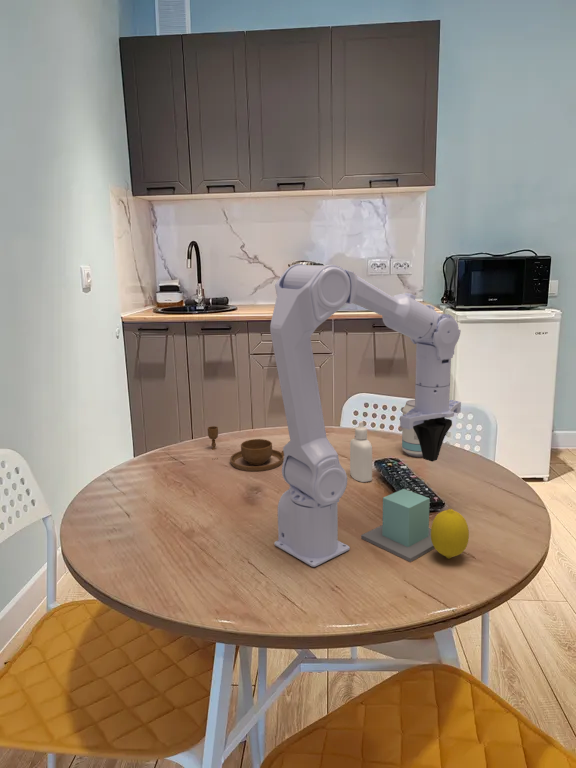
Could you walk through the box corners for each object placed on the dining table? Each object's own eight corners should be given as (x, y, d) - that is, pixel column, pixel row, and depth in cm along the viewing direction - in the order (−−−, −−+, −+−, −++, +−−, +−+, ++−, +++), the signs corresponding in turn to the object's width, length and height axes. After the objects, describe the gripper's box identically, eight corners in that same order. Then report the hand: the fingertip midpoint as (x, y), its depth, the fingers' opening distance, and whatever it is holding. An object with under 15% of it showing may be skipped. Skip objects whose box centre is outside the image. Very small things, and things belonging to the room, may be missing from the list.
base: (361, 538, 95) (361, 535, 94) (400, 519, 101) (400, 516, 101) (410, 562, 87) (410, 558, 87) (449, 539, 93) (449, 536, 93)
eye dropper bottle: (370, 472, 122) (371, 418, 119) (372, 483, 117) (372, 426, 114) (350, 472, 123) (350, 418, 120) (350, 482, 117) (350, 426, 114)
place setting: (224, 480, 122) (223, 453, 120) (204, 450, 140) (203, 427, 139) (302, 467, 127) (301, 442, 126) (273, 440, 146) (272, 418, 144)
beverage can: (420, 446, 137) (421, 397, 135) (439, 455, 131) (440, 404, 128) (395, 451, 135) (396, 401, 132) (413, 460, 128) (415, 408, 126)
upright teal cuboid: (382, 535, 94) (382, 497, 93) (402, 525, 97) (403, 488, 96) (408, 547, 90) (409, 508, 89) (428, 536, 94) (429, 498, 92)
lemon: (439, 545, 92) (441, 498, 90) (473, 556, 88) (476, 507, 87) (423, 559, 88) (425, 511, 86) (458, 571, 84) (460, 521, 82)
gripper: (425, 395, 91) (423, 476, 94) (477, 380, 100) (473, 454, 103) (390, 387, 96) (389, 465, 99) (442, 374, 105) (440, 445, 108)
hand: (430, 459), depth 101 cm, fingers closed
